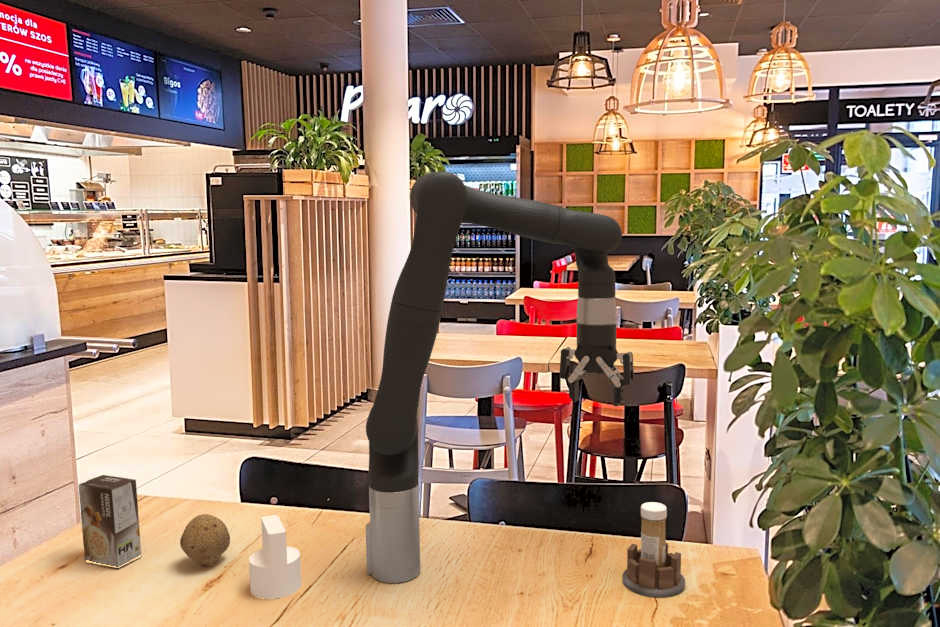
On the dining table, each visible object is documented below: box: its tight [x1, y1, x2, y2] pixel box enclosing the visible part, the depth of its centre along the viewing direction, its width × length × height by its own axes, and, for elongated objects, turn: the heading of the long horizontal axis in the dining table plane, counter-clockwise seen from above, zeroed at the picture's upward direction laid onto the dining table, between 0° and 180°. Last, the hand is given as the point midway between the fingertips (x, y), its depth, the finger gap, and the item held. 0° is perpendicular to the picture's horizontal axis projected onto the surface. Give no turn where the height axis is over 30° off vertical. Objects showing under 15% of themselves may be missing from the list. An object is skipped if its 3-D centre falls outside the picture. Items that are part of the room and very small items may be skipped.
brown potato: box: [179, 513, 231, 566], centre depth 151 cm, size 9×9×10 cm
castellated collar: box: [622, 542, 686, 599], centre depth 141 cm, size 11×11×6 cm
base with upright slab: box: [248, 514, 302, 600], centre depth 140 cm, size 9×9×12 cm
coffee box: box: [78, 474, 142, 567], centre depth 153 cm, size 9×6×16 cm
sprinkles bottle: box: [640, 501, 668, 582], centre depth 140 cm, size 5×5×14 cm
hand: (595, 403), depth 151 cm, fingers open, 8 cm apart
